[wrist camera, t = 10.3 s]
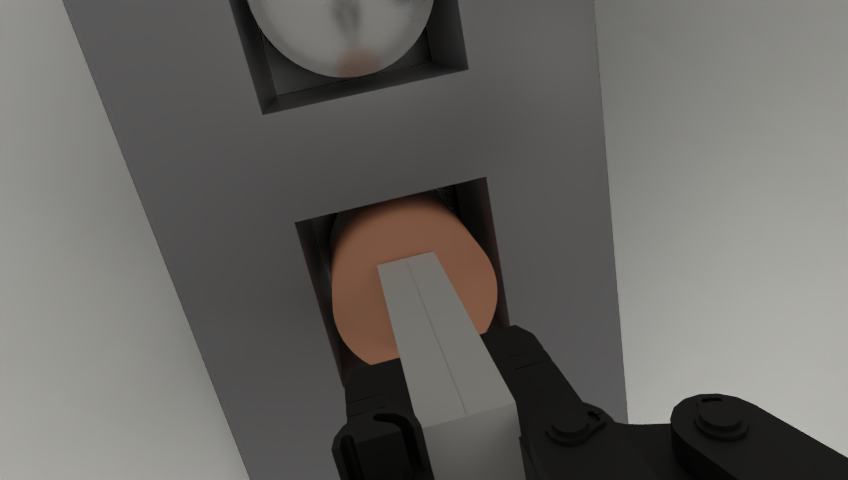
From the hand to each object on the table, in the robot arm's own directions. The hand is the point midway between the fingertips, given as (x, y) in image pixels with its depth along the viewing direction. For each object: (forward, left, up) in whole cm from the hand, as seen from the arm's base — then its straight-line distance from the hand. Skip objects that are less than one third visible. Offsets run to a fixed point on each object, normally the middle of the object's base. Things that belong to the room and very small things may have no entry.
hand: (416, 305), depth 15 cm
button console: (0, 0, -6) cm, 6 cm away
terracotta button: (0, 0, -5) cm, 5 cm away
